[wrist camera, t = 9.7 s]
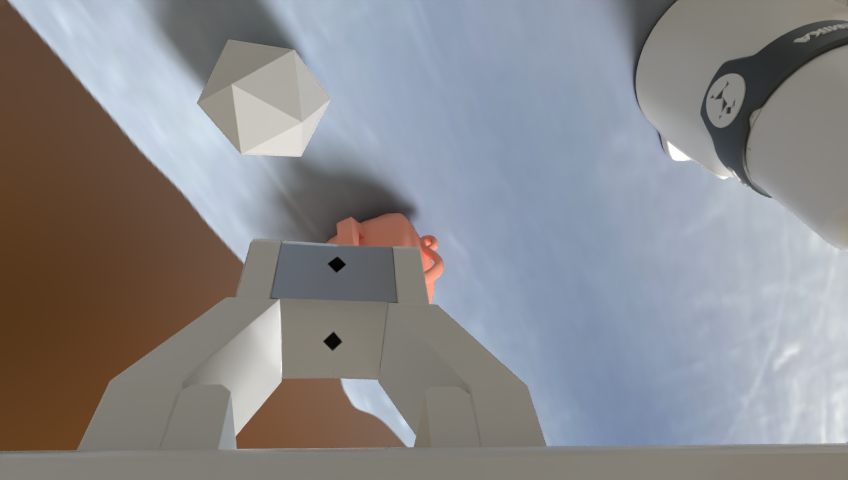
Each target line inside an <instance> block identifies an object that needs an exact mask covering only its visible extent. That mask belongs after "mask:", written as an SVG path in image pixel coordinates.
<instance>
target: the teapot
mask: <svg viewBox="0 0 848 480" xmlns="http://www.w3.org/2000/svg"><path fill="white" fill-rule="evenodd" d="M326 243H327V244H338V245H353V246H378V247H392V246H401V247H418V248H419V249H420V250H421V256H422V262H423V268H424V274H425V280H426V286H427V292H428V298H429V304H431V301H432V297H433V292H434V284H435V280H436V279H437V278H438V277H439V276H440V275H441V274H442V272H443V269H444V264H443V261H442V259H441V257H440V256H439V255H438V254H437V253H436V252H435V251H434V250H436V249H437V247H438V242H437V239H436V238H435V237H434V236H431V235H427V236H423V237H422V238H420V237H419V235H418V234H417V232H416V231H415V229H414V228H413V226H412V225H411V223H410V222H409V220H408V219H407V218H406V217H405V216H404V215H403V214H401V213H384V214H382V215H381V216H379V217H376V218H373V219H370V220H367V221H364V222H361V223H358V222H357V221H356V220H355V219H354V218H352V217H349V218H347V219H345V220H342V221H340V222H338V223H337V235H336V236H334V237H333V238H331V239H330V240H329V241H327V242H326ZM431 259H432V260H433V261H434V262H435V264H434V265H433V264H432V262H431Z"/></svg>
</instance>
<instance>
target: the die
mask: <svg viewBox="0 0 848 480" xmlns="http://www.w3.org/2000/svg"><path fill="white" fill-rule="evenodd" d="M330 100H331V98H330V96H329V95H328V94H327V92H326V91H325V90H324V88H323V87H322V86H321V84H320V83H319V82H318V80H317V79H316V78H315V76H314V75H313V74H312V73H311V71H310V70H309V69H308V67H307V66H306V65H305V63H304V62H303V61H302V59H301V58H300V57H299V55H298V54H297V53H296V51H295V50H294V49H287V48H281V47H275V46H268V45H262V44H256V43H249V42H243V41H237V40H230V39H228V41H227V43H226V45H225V47H224V49H223V51H222V53H221V55H220V57H219V59H218V61H217V63H216V65H215V67H214V69H213V71H212V73H211V75H210V77H209V79H208V82H207V84H206V86H205V88H204V90H203V92H202V94H201V96H200V98H199V100H198V102H197V104H198V105H199V106H200V107H201V108H202V110H203V111H204V112H205V113H206V114H207V115H208V117H209V118H210V119H211V120H212V121H213V122H214V123H215V125H216V126H217V127H218V128H219V129H220V130H221V132H222V133H223V134H224V135H225V136H226V137H227V139H228V140H229V141H230V142H231V143H232V144H233V145H234V147H235V148H236V149H237V150H238V151H239V152H240V154H246V155H271V156H295V157H301V156H302V154H303V152H304V150H305V148H306V146H307V144H308V142H309V140H310V138H311V136H312V135H313V133H314V131H315V129H316V127H317V125H318V123H319V121H320V119H321V117H322V115H323V113H324V111H325V110H326V108H327V106H328V104H329V102H330Z"/></svg>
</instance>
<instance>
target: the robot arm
mask: <svg viewBox="0 0 848 480" xmlns="http://www.w3.org/2000/svg"><path fill="white" fill-rule="evenodd" d="M636 93H637V98H638V102H639V105H640V107H641V110H642V112H643V113H644V115H645V117H646V118H647V119H648V120H649V121H650V122H651V124H652V125H653V126H654V127H655V128H656V129H657V130H658V131H659V133H660V135H661V141H662V145H663V149H664V151H665V153H666V155H667V156H669V157H670V158H672V159H673V160H675V161H685V160H693V161H695V162H696V163H698V164H699V165H700V166H702V167H703V168H705V169H706V170H708V171H709V172H710V173H712V174H713V175H715V176H716V177H718V178H722V179H726V178H727V177H735V178H736V179H738V180H739V181H740V182H741V183H743V184H744V185H745V186H747V187H749V188H752V189H753V190H755V191H756V192H758V193H759V194H761V195H764V196H766V197H769V198H774V199H775V200H776V201H777V202H779V203H780V204H781V205H782V206H784V207H785V208H786V209H787V210H788V211H790V212H791V213H792V214H793V215H794V216H796V217H797V218H798V219H799V220H801V221H802V222H803V223H804V224H806V225H807V226H808V227H809V228H810V229H812V230H813V231H814V232H815V233H817V234H818V235H819V236H820V237H821V238H823V239H824V240H825V241H826V242H827V243H829V244H830V245H832V246H834V247H836V248H838V249H840V250H843V251H846V252H848V0H678V1H676V2H675V3H674V4H673V5H672V6H671V7H670V8H669V9H668V10H667V12H666V13H665V14H664V15H663V16H662V17H661V19H660V20H659V21H658V23H657V24H656V26H655V27H654V29H653V30H652V32H651V33H650V35H649V37H648V39H647V41H646V43H645V45H644V48H643V50H642V53H641V56H640V59H639V63H638V67H637V73H636ZM288 378H346V379H373V380H378V382H379V384H380V385H381V386H382V388H383V389H384V391H385V392H386V394H387V395H388V396H389V398H390V399H391V401H392V402H393V404H394V405H395V406H396V408H397V409H398V411H399V412H400V414H401V415H402V416H403V418H404V419H405V421H406V422H407V424H408V425H409V426H410V428H411V429H412V431H413V432H414V434H415V435H416V439H415V444H414V447H403V448H302V449H237V448H236V438H235V436H236V435H237V434H238V433H239V431H240V430H241V429H242V428H243V427H244V425H245V424H246V423H247V422H248V421H249V420H250V418H251V417H252V416H253V415H254V413H255V412H256V411H257V410H258V409H259V408H260V406H261V405H262V404H263V403H264V402H265V400H266V399H267V398H268V397H269V396H270V395H271V393H272V392H273V391H274V390H275V389H276V387H277V386H278V385H279V384H280V383H281V381H282V379H288ZM0 480H848V443H833V444H727V445H625V446H546V443H545V440H544V436H543V433H542V430H541V427H540V424H539V421H538V418H537V415H536V412H535V408H534V405H533V402H532V399H531V396H530V393H529V390H528V387H527V385H526V384H525V383H523V382H522V381H521V380H520V379H519V378H518V377H517V376H516V375H515V374H513V373H512V372H511V371H510V370H509V369H508V368H507V367H506V366H505V365H504V364H502V363H501V362H500V361H499V360H498V359H497V358H496V357H495V356H494V355H492V354H491V353H490V352H489V351H488V350H487V349H486V348H485V347H484V346H482V345H481V344H480V343H479V342H478V341H477V340H476V339H475V338H474V337H473V336H471V335H470V334H469V333H468V332H467V331H466V330H465V329H464V328H463V327H461V326H460V325H459V324H458V323H457V322H456V321H455V320H454V319H453V318H451V317H450V316H449V315H448V314H447V313H446V312H445V311H444V310H443V309H442V308H440V307H439V306H438V305H434V304H429V298H428V292H427V286H426V280H425V274H424V268H423V262H422V256H421V250H420V249H419V248H418V247H401V246H392V247H378V246H353V245H338V244H327V243H313V242H299V241H285V240H283V242H282V241H281V240H267V239H253V241H252V242H251V243H250V246H249V250H248V253H247V257H246V261H245V264H244V268H243V272H242V275H241V279H240V282H239V286H238V289H237V293H236V297H235V298H225V299H224V300H222V301H221V302H219V303H218V304H217V305H215V306H214V307H213V308H211V309H210V310H208V311H207V312H206V313H204V314H203V315H201V316H200V317H199V318H197V319H196V320H195V321H193V322H192V323H190V324H189V325H187V326H186V327H185V328H183V329H182V330H181V331H179V332H178V333H176V334H175V335H174V336H172V337H171V338H169V339H168V340H167V341H165V342H164V343H162V344H161V345H160V346H158V347H157V348H156V349H154V350H153V351H151V352H150V353H148V354H147V355H146V356H144V357H143V358H141V359H140V360H139V361H137V362H136V363H134V364H133V365H132V366H130V367H129V368H128V369H126V370H125V371H123V372H122V373H121V374H119V375H118V376H116V377H115V378H114V379H112V380H111V381H110V382H109V385H108V386H107V389H106V391H105V393H104V395H103V397H102V399H101V401H100V403H99V405H98V407H97V409H96V412H95V414H94V416H93V418H92V420H91V422H90V424H89V426H88V428H87V430H86V432H85V435H84V437H83V439H82V441H81V443H80V445H79V447H78V449H77V451H0Z"/></svg>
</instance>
